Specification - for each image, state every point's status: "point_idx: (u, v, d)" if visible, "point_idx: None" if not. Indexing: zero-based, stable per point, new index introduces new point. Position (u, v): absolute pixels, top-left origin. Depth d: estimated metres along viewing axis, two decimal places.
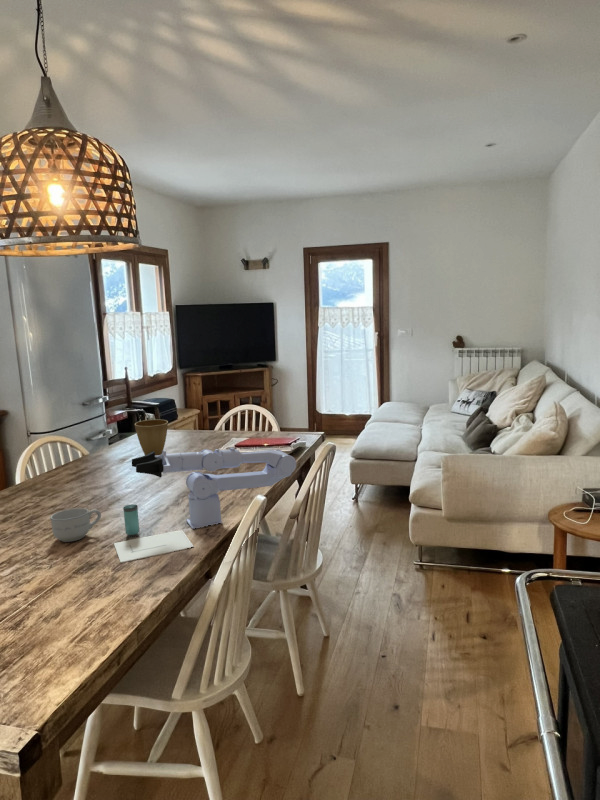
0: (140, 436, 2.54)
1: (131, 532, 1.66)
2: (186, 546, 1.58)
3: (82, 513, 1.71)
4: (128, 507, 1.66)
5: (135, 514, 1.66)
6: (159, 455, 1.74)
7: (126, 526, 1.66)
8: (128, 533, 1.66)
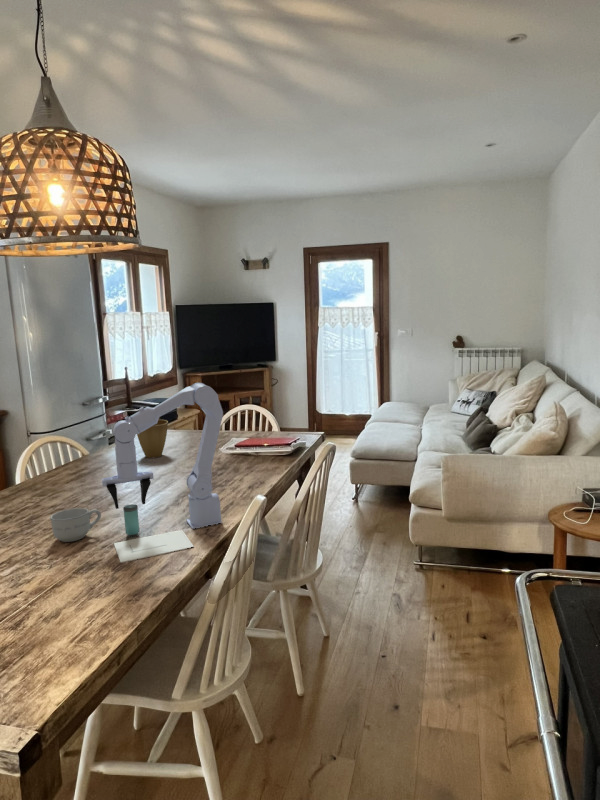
0: (140, 436, 2.54)
1: (131, 532, 1.66)
2: (186, 546, 1.58)
3: (82, 513, 1.71)
4: (128, 507, 1.66)
5: (135, 514, 1.66)
6: None
7: (126, 526, 1.66)
8: (128, 533, 1.66)
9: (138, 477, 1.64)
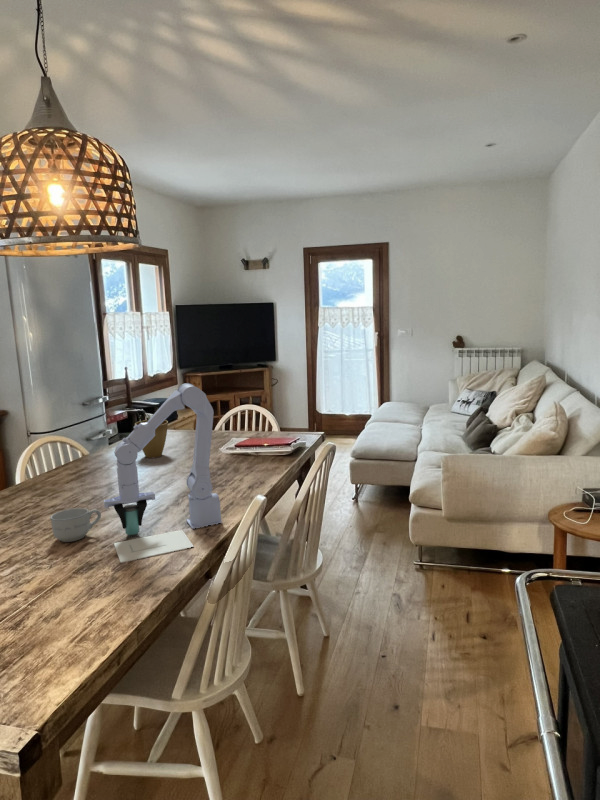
0: None
1: (131, 532, 1.66)
2: (186, 546, 1.58)
3: (82, 513, 1.71)
4: (128, 507, 1.66)
5: (135, 514, 1.66)
6: None
7: (126, 526, 1.66)
8: (128, 533, 1.66)
9: (140, 498, 1.65)
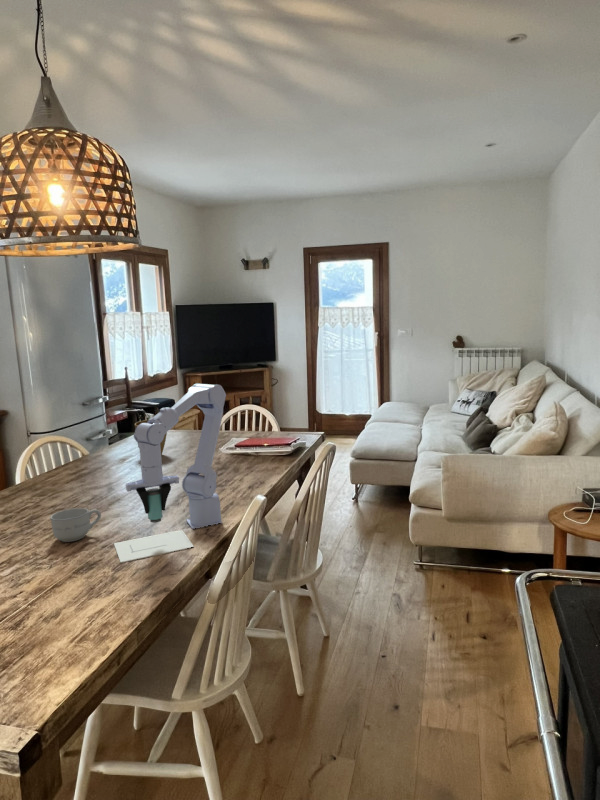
0: None
1: (154, 517, 1.58)
2: (186, 546, 1.58)
3: (82, 513, 1.71)
4: (151, 491, 1.58)
5: (158, 498, 1.58)
6: None
7: (149, 511, 1.58)
8: (151, 518, 1.58)
9: (163, 481, 1.58)
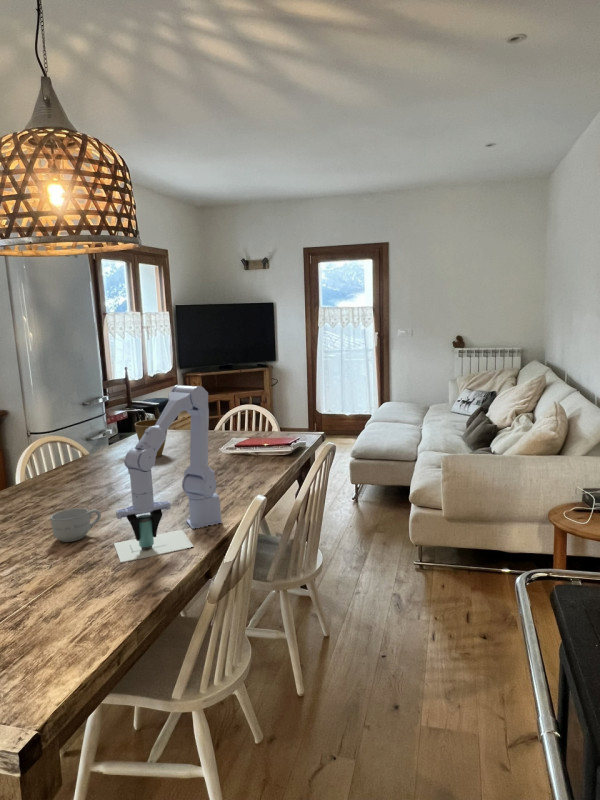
0: (140, 436, 2.54)
1: (146, 544, 1.55)
2: (186, 546, 1.58)
3: (82, 513, 1.71)
4: (142, 517, 1.55)
5: (150, 525, 1.55)
6: None
7: (140, 538, 1.55)
8: (142, 545, 1.55)
9: (155, 508, 1.55)
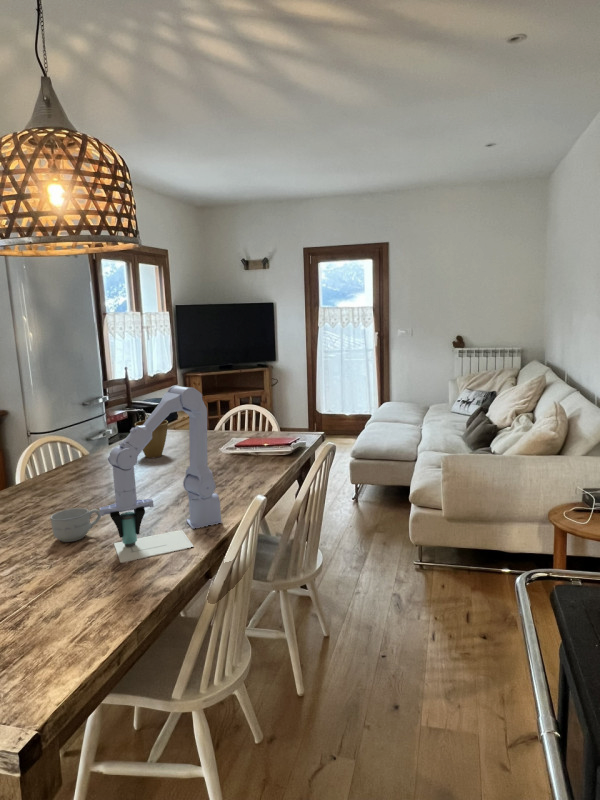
0: None
1: (128, 541, 1.58)
2: (186, 546, 1.58)
3: (82, 513, 1.71)
4: (125, 515, 1.58)
5: (133, 522, 1.58)
6: None
7: (123, 535, 1.58)
8: (125, 542, 1.58)
9: (137, 505, 1.57)
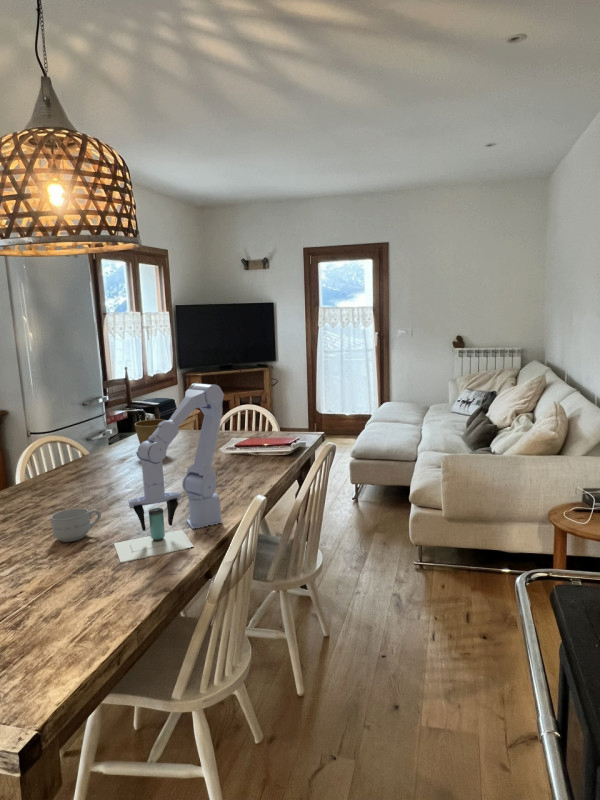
0: (140, 436, 2.54)
1: (157, 536, 1.61)
2: (186, 546, 1.58)
3: (82, 513, 1.71)
4: (153, 511, 1.61)
5: (161, 518, 1.61)
6: None
7: (152, 530, 1.61)
8: (154, 537, 1.61)
9: (165, 498, 1.61)
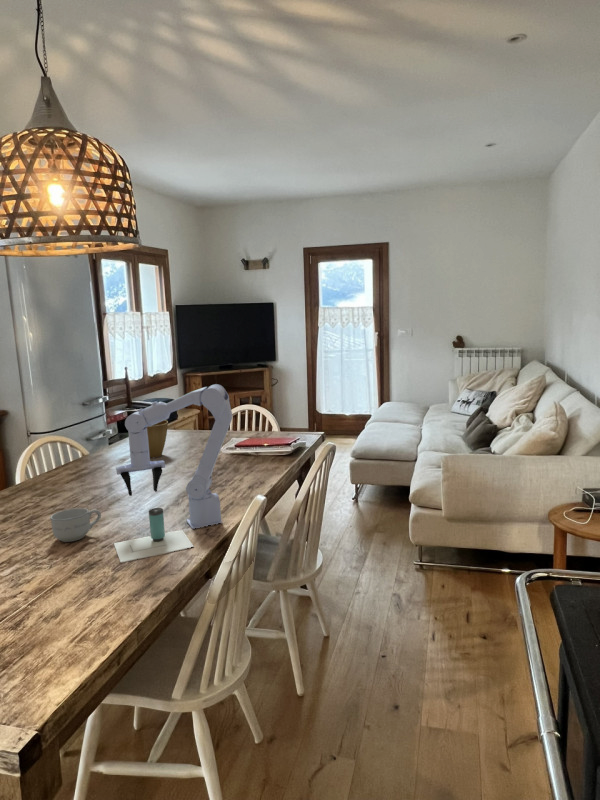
0: None
1: (157, 536, 1.61)
2: (186, 546, 1.58)
3: (82, 513, 1.71)
4: (154, 511, 1.61)
5: (161, 518, 1.61)
6: None
7: (152, 530, 1.61)
8: (154, 537, 1.61)
9: (150, 466, 1.73)
